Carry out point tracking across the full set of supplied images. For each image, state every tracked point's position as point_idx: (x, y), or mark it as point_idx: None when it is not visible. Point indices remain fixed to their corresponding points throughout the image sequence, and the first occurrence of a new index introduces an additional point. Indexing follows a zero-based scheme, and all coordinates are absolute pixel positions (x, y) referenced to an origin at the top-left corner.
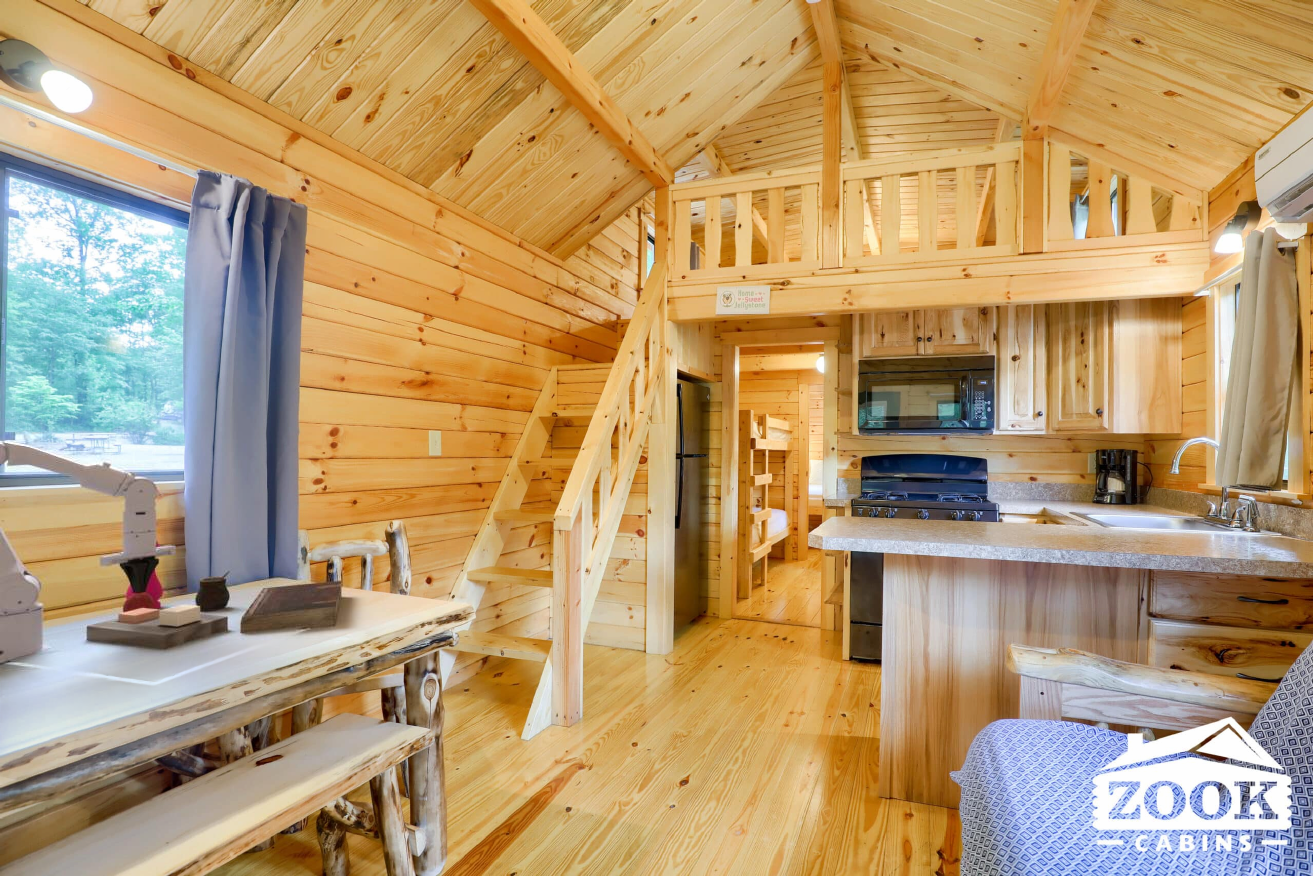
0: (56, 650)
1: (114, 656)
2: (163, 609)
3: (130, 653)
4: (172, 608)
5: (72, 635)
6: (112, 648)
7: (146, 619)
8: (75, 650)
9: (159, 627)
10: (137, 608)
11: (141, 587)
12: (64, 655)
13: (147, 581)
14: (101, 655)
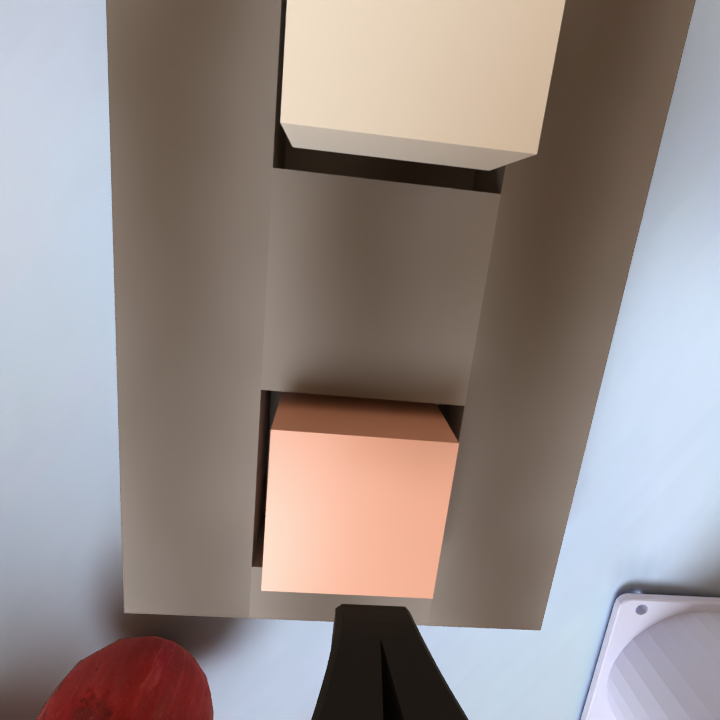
0: (621, 575)
1: (708, 203)
2: (497, 147)
3: (657, 159)
4: (449, 79)
5: None
6: None
7: (369, 415)
8: (618, 497)
9: None
10: (178, 693)
11: (414, 650)
12: (690, 472)
13: (343, 707)
14: (691, 294)
